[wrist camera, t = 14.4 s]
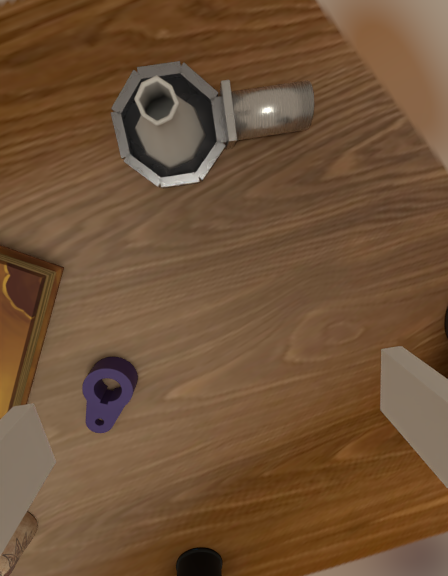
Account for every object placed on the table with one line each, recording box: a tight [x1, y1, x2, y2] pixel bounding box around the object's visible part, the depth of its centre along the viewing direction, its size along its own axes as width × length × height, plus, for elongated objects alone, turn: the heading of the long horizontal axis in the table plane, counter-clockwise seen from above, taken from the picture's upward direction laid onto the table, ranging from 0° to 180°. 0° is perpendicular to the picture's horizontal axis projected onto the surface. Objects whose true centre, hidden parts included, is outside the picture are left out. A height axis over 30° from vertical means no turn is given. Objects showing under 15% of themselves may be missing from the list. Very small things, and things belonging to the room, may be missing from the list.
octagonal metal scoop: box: [111, 61, 314, 188], centre depth 30 cm, size 20×11×4 cm, turn 99°
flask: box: [134, 75, 206, 170], centre depth 27 cm, size 7×7×10 cm
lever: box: [83, 357, 138, 433], centre depth 39 cm, size 12×6×3 cm, turn 159°
